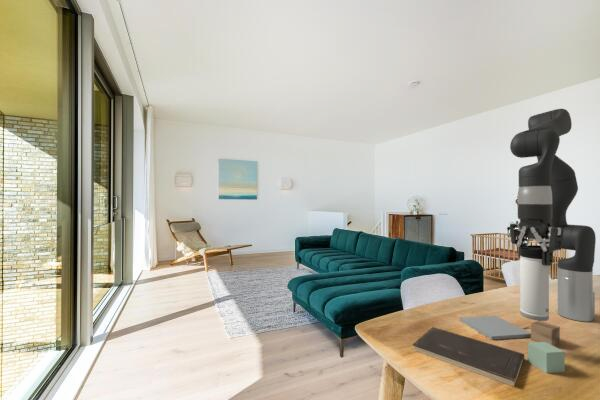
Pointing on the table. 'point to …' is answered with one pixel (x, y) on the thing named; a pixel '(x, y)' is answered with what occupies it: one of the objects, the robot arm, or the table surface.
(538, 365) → the sage block
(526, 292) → the travel mug
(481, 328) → the slate board
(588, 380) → the table surface
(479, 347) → the hardcover book
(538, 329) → the walnut block
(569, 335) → the table surface
